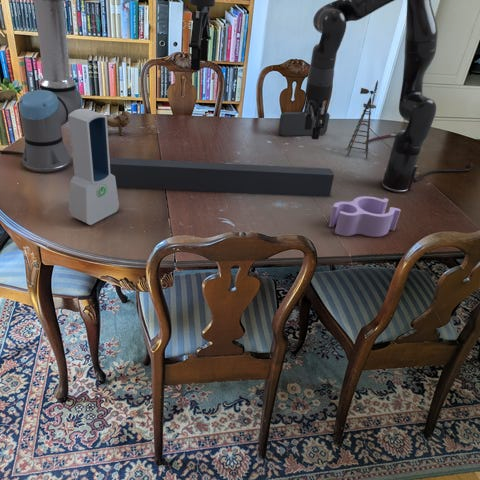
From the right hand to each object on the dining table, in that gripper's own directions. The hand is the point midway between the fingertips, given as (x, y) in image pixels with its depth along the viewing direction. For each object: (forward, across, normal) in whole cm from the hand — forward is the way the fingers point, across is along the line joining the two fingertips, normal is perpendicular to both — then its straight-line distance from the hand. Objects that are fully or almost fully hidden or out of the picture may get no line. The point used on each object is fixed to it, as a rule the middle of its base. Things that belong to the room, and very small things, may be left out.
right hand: (311, 134), depth 148 cm
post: (+20, +2, +27) cm, 34 cm away
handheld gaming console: (+21, +56, -15) cm, 62 cm away
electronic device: (+20, -16, +66) cm, 71 cm away
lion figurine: (+20, +50, +66) cm, 85 cm away
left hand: (-15, +18, +34) cm, 42 cm away
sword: (+22, +55, -56) cm, 81 cm away
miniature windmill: (+22, +35, -33) cm, 53 cm away
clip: (+21, -22, -13) cm, 33 cm away
